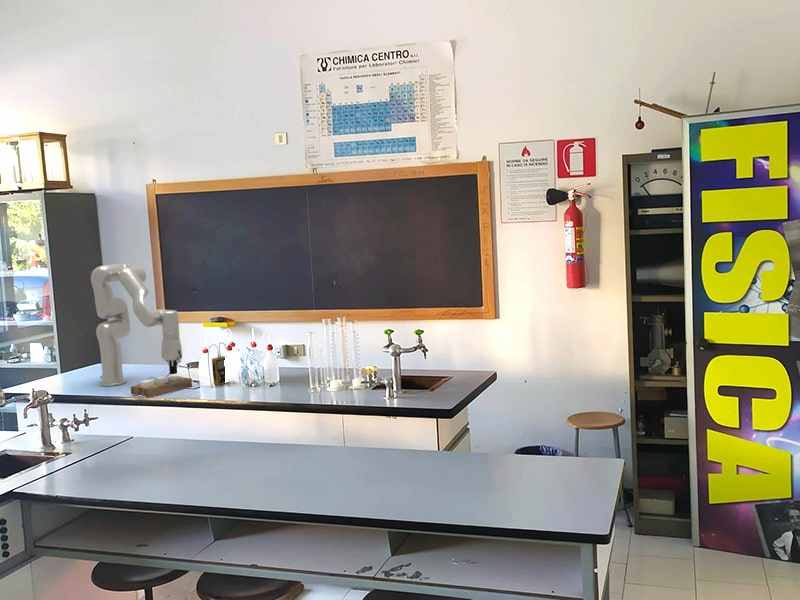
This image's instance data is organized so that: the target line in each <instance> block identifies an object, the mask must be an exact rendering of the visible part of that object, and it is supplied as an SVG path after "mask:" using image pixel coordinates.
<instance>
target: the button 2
mask: <svg viewBox="0 0 800 600" xmlns="http://www.w3.org/2000/svg"><path fill="white" fill-rule="evenodd" d="M171 376H172V377H171ZM171 376H167V377H168V379H169V380H178V379H182V377H183V376H181V375H171Z"/></svg>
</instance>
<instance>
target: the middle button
mask: <svg viewBox="0 0 800 600" xmlns="http://www.w3.org/2000/svg"><path fill="white" fill-rule="evenodd" d="M168 377H169V376H163V375H161V376H157V377H154V378H153V380H154V381H155V383H157V384H163V383H166V382H168Z"/></svg>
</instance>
